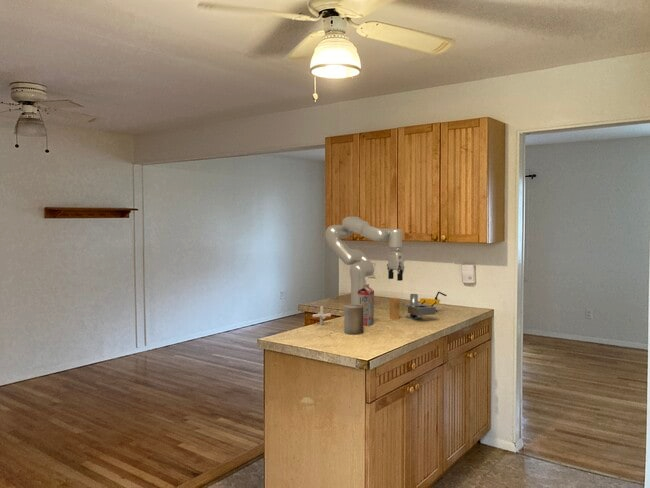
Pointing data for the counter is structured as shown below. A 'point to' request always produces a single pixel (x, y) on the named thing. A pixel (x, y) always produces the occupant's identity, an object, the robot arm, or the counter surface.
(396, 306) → the wooden block
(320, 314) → the pipe connector
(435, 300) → the robot dog
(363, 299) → the juice carton
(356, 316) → the pillar candle
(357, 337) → the counter surface
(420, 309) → the block with square hole
